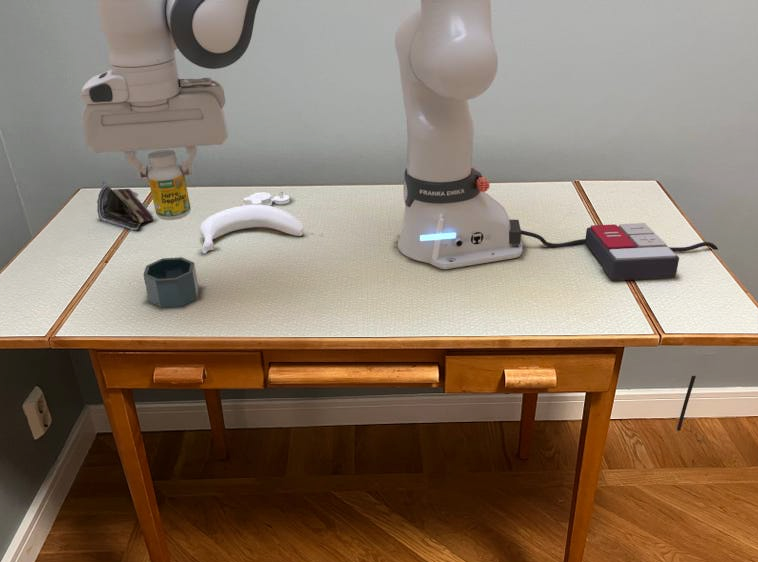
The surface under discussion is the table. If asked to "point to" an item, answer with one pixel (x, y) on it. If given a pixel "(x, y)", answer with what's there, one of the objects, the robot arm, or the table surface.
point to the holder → (171, 282)
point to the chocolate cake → (122, 208)
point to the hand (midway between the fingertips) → (166, 176)
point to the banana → (247, 222)
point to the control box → (631, 252)
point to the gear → (265, 199)
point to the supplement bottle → (168, 186)
